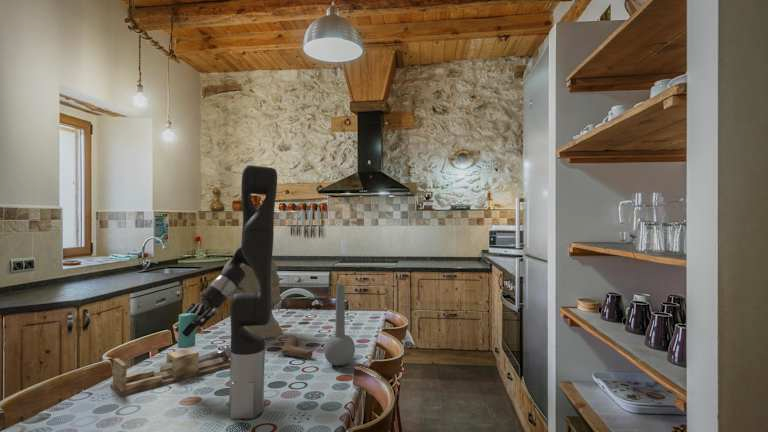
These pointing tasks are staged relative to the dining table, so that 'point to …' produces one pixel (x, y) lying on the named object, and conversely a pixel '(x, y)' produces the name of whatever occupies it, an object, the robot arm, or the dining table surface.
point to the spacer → (182, 324)
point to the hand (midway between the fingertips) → (180, 333)
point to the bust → (252, 286)
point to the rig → (182, 369)
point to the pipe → (295, 349)
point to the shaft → (204, 358)
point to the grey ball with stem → (339, 335)
